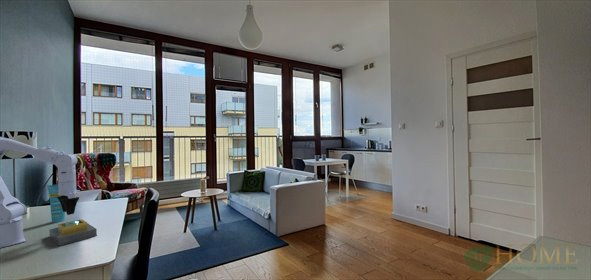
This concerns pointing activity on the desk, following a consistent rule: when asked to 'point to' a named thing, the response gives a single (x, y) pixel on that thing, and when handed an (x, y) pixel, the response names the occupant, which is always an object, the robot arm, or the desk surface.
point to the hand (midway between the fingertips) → (68, 212)
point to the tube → (55, 204)
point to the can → (71, 223)
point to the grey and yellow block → (72, 232)
